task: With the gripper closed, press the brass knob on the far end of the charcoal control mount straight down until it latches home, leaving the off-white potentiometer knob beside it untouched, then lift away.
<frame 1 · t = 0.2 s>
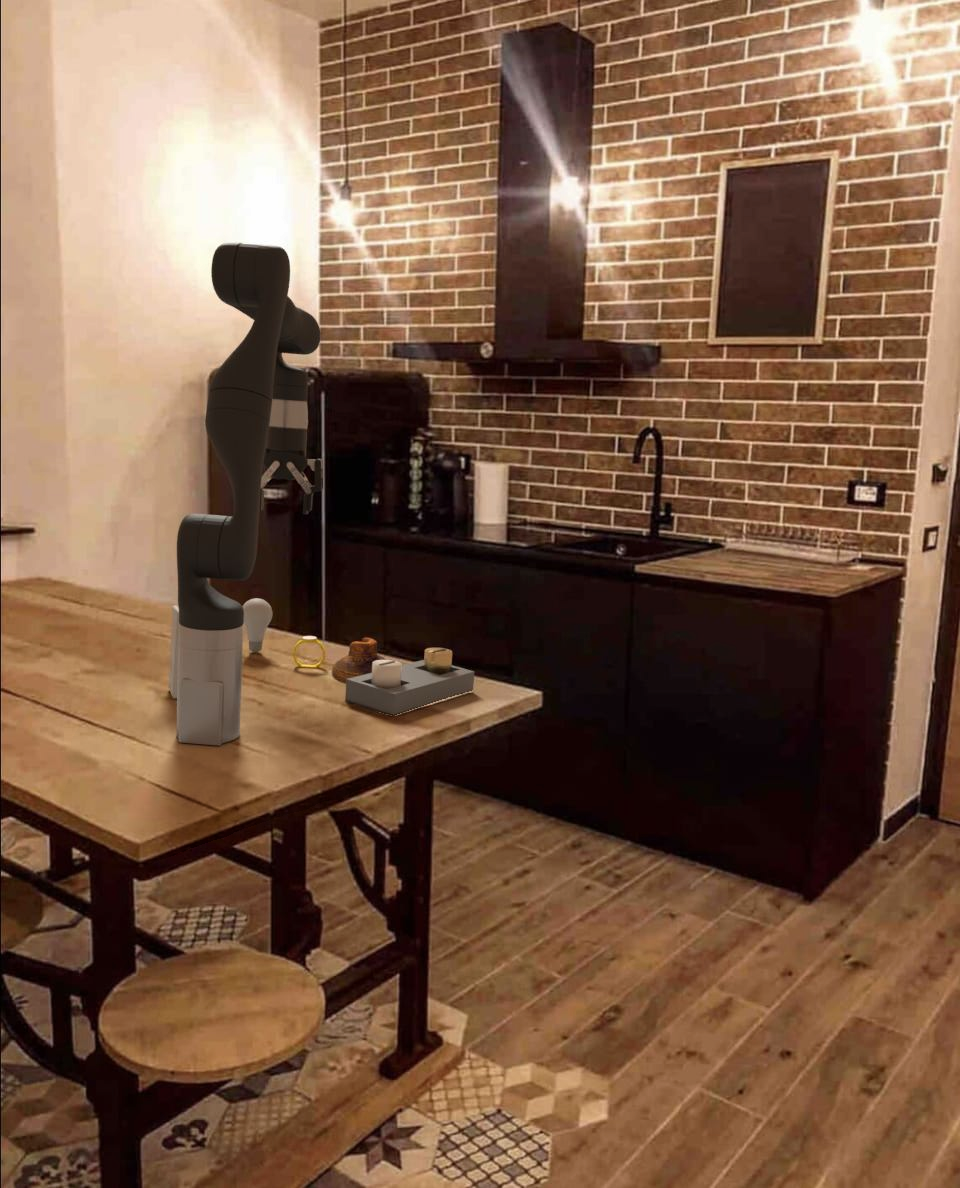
hand: (283, 511, 190), 29 cm above the table, fingers open, 8 cm apart
lightbulb: (255, 653, 200), on the table
skincare box: (195, 694, 172), on the table
knob mount: (411, 696, 179), on the table
brass knob: (437, 661, 184), point 5 cm above the table, slide at 0.0 cm
broken clay vessel: (363, 678, 190), on the table
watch: (308, 668, 193), on the table
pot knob: (386, 674, 172), point 5 cm above the table, slide at 0.0 cm
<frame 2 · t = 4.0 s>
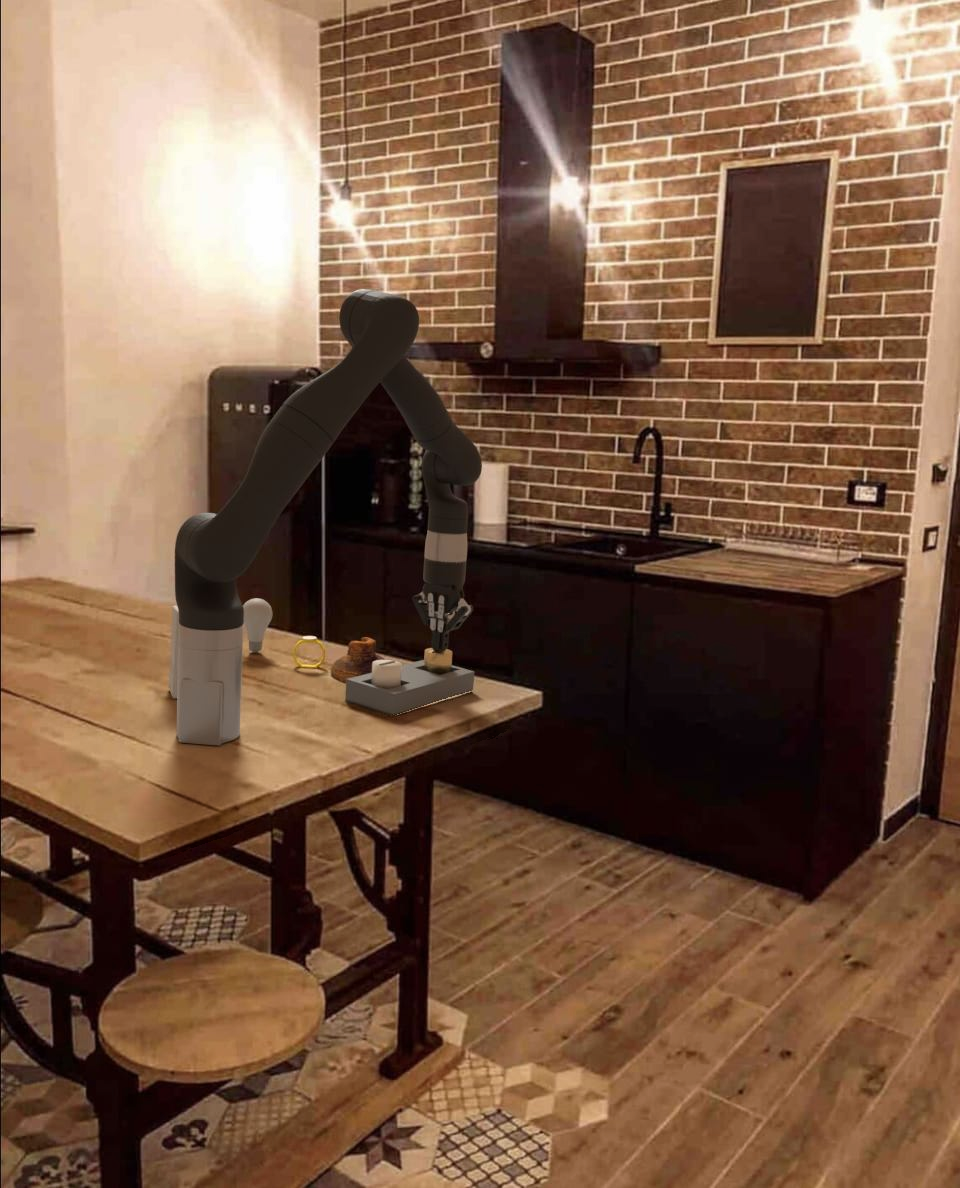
hand: (439, 650, 183), 7 cm above the table, fingers closed
brass knob: (437, 661, 184), point 5 cm above the table, slide at 0.0 cm, touching gripper
everything else where it was.
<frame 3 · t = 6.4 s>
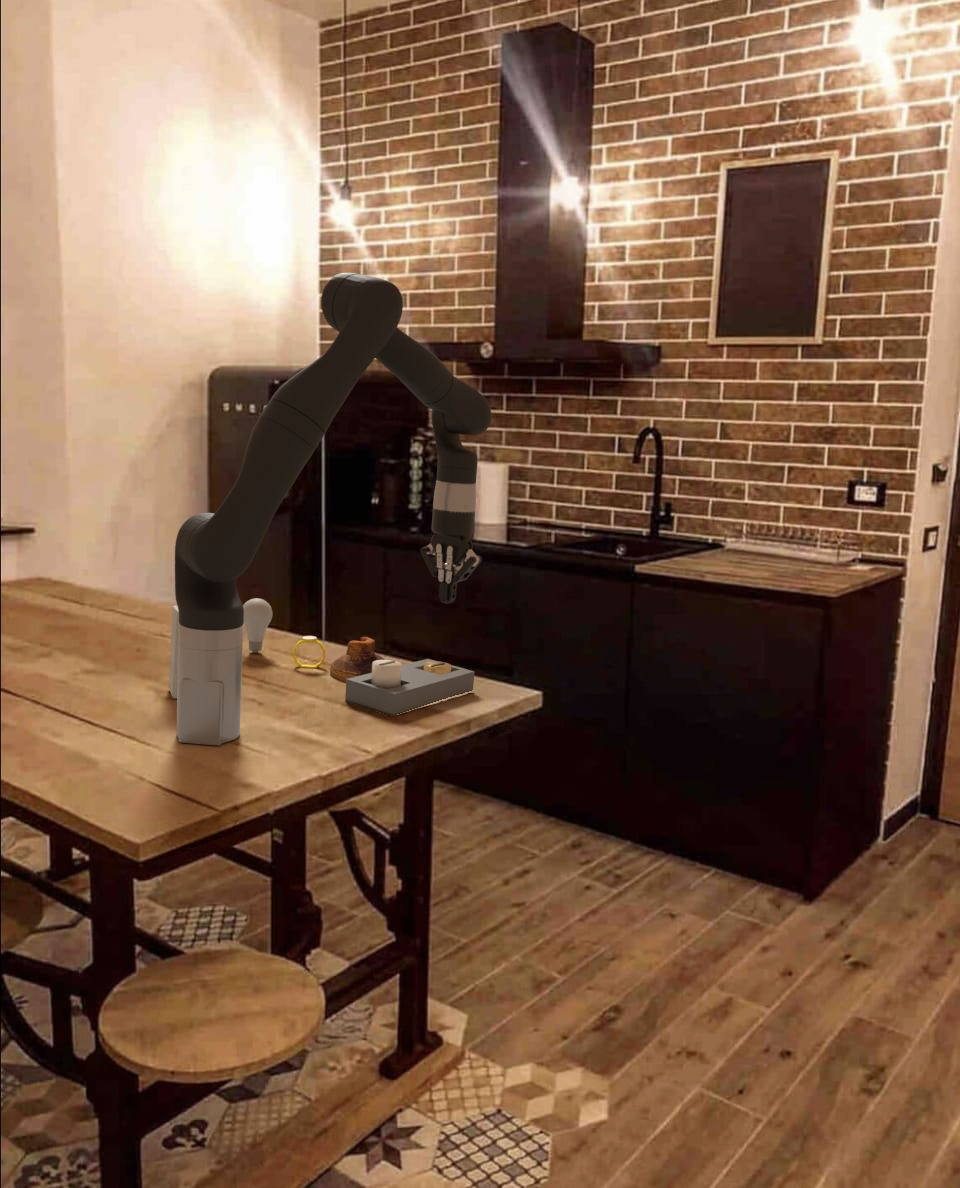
hand: (446, 602, 183), 16 cm above the table, fingers closed
brass knob: (436, 675, 184), point 3 cm above the table, slide at 2.6 cm
everything else where it was.
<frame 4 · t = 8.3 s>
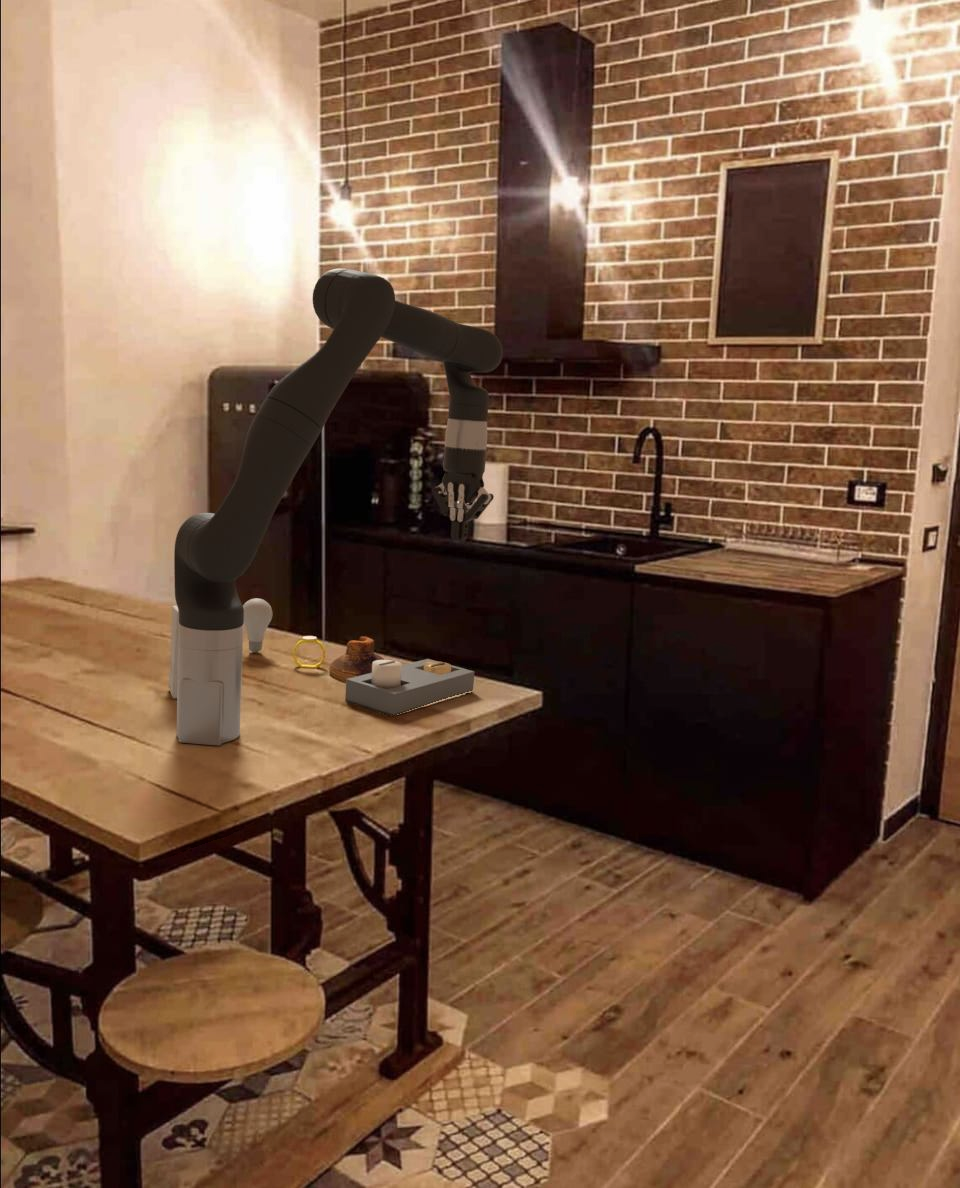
hand: (458, 541, 184), 27 cm above the table, fingers closed
nothing on the table moved.
at the end: brass knob slide at 2.6 cm; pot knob slide at 0.0 cm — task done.
